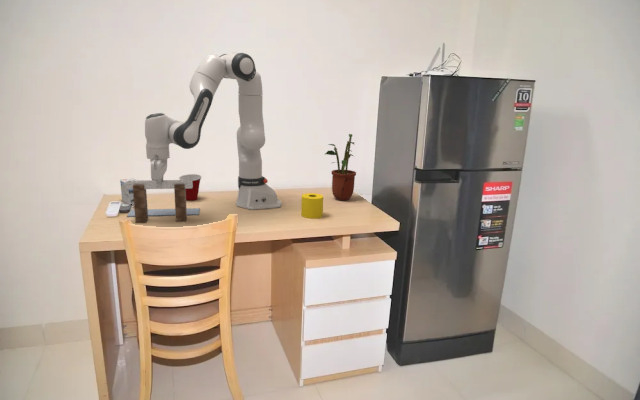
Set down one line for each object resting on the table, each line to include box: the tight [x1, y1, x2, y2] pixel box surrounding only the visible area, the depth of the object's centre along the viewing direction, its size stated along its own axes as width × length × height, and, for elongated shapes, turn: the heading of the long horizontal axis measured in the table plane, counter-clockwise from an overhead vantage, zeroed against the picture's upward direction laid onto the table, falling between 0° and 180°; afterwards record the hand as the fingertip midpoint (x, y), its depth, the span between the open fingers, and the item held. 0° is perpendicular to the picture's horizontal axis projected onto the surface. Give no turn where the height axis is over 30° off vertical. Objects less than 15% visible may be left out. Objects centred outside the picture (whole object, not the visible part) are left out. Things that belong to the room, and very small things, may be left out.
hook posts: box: [133, 185, 188, 224], centre depth 177 cm, size 20×6×16 cm, turn 103°
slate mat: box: [126, 207, 201, 218], centre depth 189 cm, size 30×9×1 cm, turn 103°
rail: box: [126, 179, 193, 190], centre depth 175 cm, size 26×3×3 cm, turn 103°
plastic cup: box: [178, 173, 202, 202], centre depth 210 cm, size 11×11×12 cm
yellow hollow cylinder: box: [300, 192, 324, 220], centre depth 194 cm, size 10×10×9 cm
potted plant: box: [324, 133, 357, 201], centre depth 219 cm, size 17×16×35 cm
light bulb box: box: [119, 177, 138, 206], centre depth 201 cm, size 11×7×11 cm, turn 44°
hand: (160, 186), depth 175 cm, fingers closed on rail, 3 cm apart
